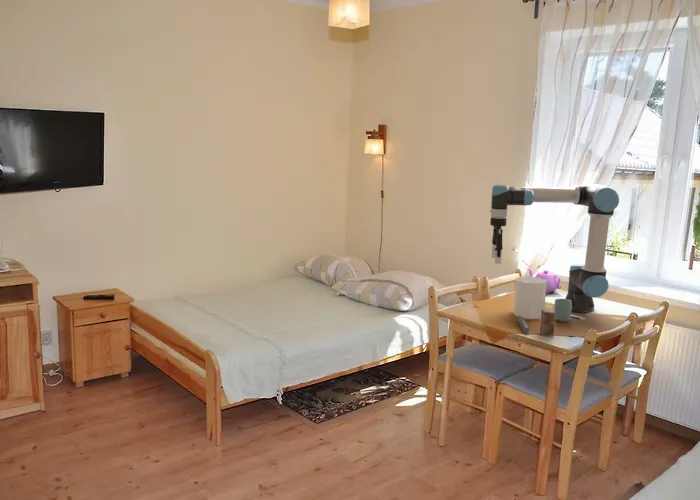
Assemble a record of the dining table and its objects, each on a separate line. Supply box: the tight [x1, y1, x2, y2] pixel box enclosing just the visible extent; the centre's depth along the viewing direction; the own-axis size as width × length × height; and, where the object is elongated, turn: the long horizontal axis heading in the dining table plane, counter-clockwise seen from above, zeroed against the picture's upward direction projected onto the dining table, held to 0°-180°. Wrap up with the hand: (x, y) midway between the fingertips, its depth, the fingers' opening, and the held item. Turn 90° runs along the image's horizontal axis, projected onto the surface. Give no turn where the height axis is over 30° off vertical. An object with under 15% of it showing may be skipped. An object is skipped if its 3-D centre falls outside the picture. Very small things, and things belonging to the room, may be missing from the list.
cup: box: [553, 298, 572, 323], centre depth 296 cm, size 8×8×10 cm
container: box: [513, 276, 547, 320], centre depth 304 cm, size 14×14×18 cm
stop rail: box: [517, 316, 530, 335], centre depth 284 cm, size 2×18×3 cm, turn 175°
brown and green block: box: [539, 308, 556, 337], centre depth 275 cm, size 5×5×11 cm
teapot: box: [527, 268, 562, 295], centre depth 350 cm, size 20×14×12 cm
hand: (496, 260), depth 299 cm, fingers open, 13 cm apart
